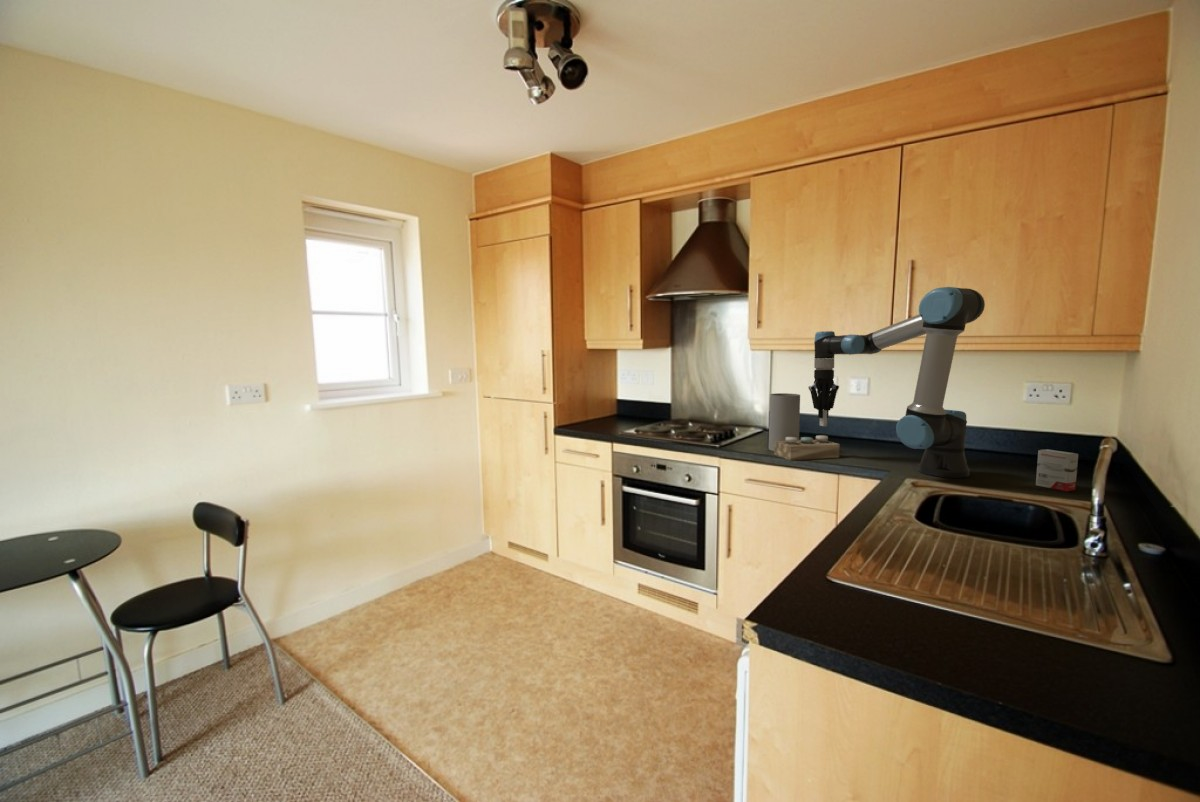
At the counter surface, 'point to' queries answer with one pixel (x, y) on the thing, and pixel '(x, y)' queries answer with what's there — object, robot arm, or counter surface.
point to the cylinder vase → (783, 417)
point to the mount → (807, 450)
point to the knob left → (791, 440)
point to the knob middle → (806, 440)
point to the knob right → (821, 438)
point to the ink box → (1057, 470)
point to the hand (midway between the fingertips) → (823, 425)
